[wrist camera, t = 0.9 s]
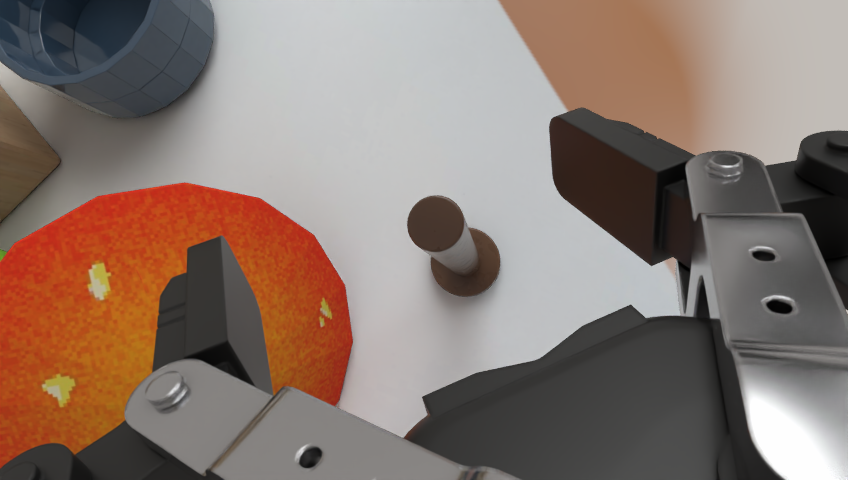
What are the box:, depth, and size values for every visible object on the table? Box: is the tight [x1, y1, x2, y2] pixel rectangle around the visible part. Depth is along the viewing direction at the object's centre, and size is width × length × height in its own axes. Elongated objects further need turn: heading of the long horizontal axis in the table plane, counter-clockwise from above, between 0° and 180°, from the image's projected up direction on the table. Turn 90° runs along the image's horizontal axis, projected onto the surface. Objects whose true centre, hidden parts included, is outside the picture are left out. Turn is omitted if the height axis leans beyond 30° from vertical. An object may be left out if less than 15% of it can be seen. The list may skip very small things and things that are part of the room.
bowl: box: [0, 0, 214, 118], centre depth 38 cm, size 13×13×7 cm
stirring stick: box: [407, 195, 500, 297], centre depth 27 cm, size 5×5×18 cm
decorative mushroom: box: [0, 183, 353, 468], centre depth 30 cm, size 15×21×15 cm
